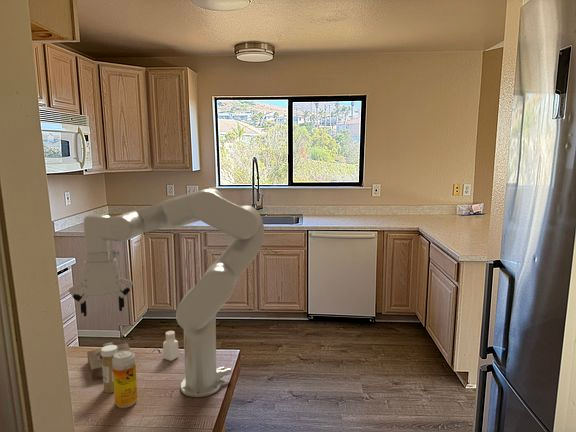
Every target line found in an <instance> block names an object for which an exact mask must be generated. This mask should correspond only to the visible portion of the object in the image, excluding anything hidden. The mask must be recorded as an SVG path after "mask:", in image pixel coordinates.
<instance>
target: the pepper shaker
mask: <svg viewBox="0 0 576 432" xmlns="http://www.w3.org/2000/svg"><path fill="white" fill-rule="evenodd" d="M162 349H163V350H162V351H163V359H164V360H167V361H171V362H172V361H173V360H176V359H177V358H179V355H180V354H179V341H178V340H177V339H176V332H175V331H174V330H168V331H166V332H165V340H164V341H163V342H162Z"/></svg>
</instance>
